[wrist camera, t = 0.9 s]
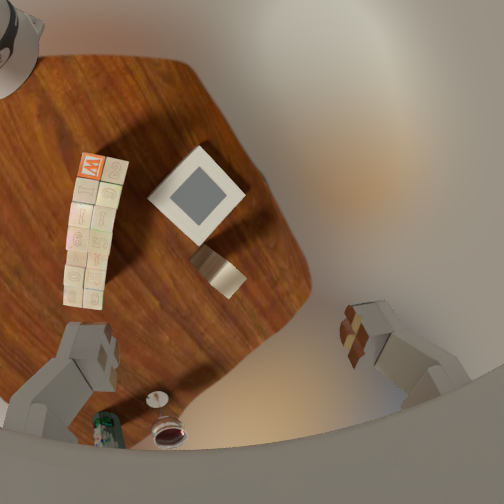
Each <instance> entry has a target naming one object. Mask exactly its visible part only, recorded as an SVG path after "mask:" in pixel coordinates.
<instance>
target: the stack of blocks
mask: <svg viewBox="0 0 504 504" xmlns="http://www.w3.org/2000/svg"><path fill="white" fill-rule="evenodd" d="M128 164H129V161H124V160H120V159H115V158H111V157H105V156H101V155H96V154H91V153H86V152H83V154H82V158H81V163H80V167H79V171H78V177H77V179H76V184H75V189H74V195H73V202H72V203H71V209H70V216H69V223H68V225H69V226H68V232H67V241H66V250H68V251H67V259H66V264H65V272H64V298H63V305H68V306H75V307H81V308H82V307H84V308H90V309H97V310H102V304H103V292H104V287H105V278H106V270H107V263H108V256H109V255H110V248H111V241H112V235H113V225H114V220H115V215H116V210H117V209H118V205H119V200H120V196H121V191H122V186H123V184H124V180H125V176H126V172H127V168H128Z"/></svg>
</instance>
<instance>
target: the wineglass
mask: <svg viewBox="0 0 504 504" xmlns="http://www.w3.org/2000/svg"><path fill="white" fill-rule="evenodd" d="M146 402H147V404H148V405H149V406H151V407H154V408H159V410H160V414H161V417H160V418H158V419H157V420H156V421H154V423H153V424H152V427H151V434H152V437H153V438H154V443H155V444H156V445H157V446H158V447H160V448H162V449H174V448H177V447H180V446H181V445H183V444H184V443H185V442H186V441H187V438H188V435H187V433H186V431H185V426H184V425H183V424H182V422H181V421H180V420H179V419H177V418H175V417H172V416H164V413H163V411H162V408H161V407H162V406H164V405H165V404H166V403H167V402H168V396H167V394H165V393H164V392H161V391H156V392H152V393H150V394H149V395H148V396H147V398H146Z"/></svg>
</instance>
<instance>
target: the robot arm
mask: <svg viewBox="0 0 504 504" xmlns="http://www.w3.org/2000/svg"><path fill="white" fill-rule="evenodd" d="M34 24H35V25H34ZM43 29H44V23H43V22H42V21H41V20H39V19H37V18H35V17H33V16H31V15H29V14H27V13H25V12H23V11H21V10H19V9H17V8H15V7H14V6H13V5H12V4H11V3H10V2H9V1H8V0H0V99H2V98H4V97H6V96H8V95H10V94H11V93H13V92H14V91H15V90H16V89H18V88H19V87H20V86H21V85H22V84H23V83H24V82H25V80H26V79H27V78H28V76H29V75H30V73H31V72H32V70H33V68H34V66H35V64H36V61H37V58H38V53H39V39H40V36H41V34H42V32H43ZM345 315H346V318H345V319H344V320H343V321H342V322H341V326H340V338H341V342H342V344H343V346H344V347H345V348H346V349H348V350H349V354H348V358H349V360H350V362H351V364H352V366H353V368H354V370H356V369H361V368H366V367H371V366H374V367H375V368H376V369H377V370H379V371H380V372H381V373H382V374H383V375H385V376H386V377H387V378H388V379H389V380H391V381H392V382H393V383H394V384H396V385H397V386H398V387H399V388H401V389H402V390H403V391H404V392H405V393H407V394H408V396H407V398H406V399H405V400H404V401H403V403H402V405H401V409H402V410H401V411H399V412H396V413H393V414H390V415H387V416H384V417H381V418H377V419H375V420H371V421H368V422H364V423H361V424H357V425H354V426H350V427H346V428H342V429H338V430H334V431H330V432H326V433H321V434H317V435H312V436H307V437H302V438H297V439H292V440H285V441H279V442H273V443H266V444H260V445H251V446H242V447H232V448H219V449H203V450H135V449H119V448H107V447H98V446H89V445H82V444H78V439H77V438H76V436H75V435H74V434H73V433H72V432H71V431H70V430H69V429H68V428H67V427H68V426H69V424H70V423H71V422H72V420H73V419H74V418H75V416H76V415H77V413H78V412H79V411H80V409H81V408H82V407H83V405H84V404H85V403H86V401H87V400H88V399H89V397H90V396H91V395H92V393H93V391H115V388H116V381H117V374H116V372H115V369H116V368H117V367H118V365H119V360H120V352H119V346H118V342H117V340H116V339H115V338H114V337H113V336H112V332H113V330H112V328H111V325H110V324H109V323H95V322H69V323H68V324H67V325H66V328H65V331H64V334H63V337H62V340H61V343H60V346H59V349H58V352H57V355H56V358H52V359H50V360H49V361H48V362H47V363H46V364H45V365H44V366H43V367H42V368H41V369H40V370H39V371H38V372H37V373H35V374H34V375H33V376H32V377H31V378H30V379H29V380H28V381H27V382H26V383H25V384H24V385H23V386H22V387H21V388H20V389H19V390H18V391H17V392H16V393H15V394H14V395H13V396H12V397H11V399H10V403H9V406H8V410H7V413H6V417H5V421H4V425H3V428H1V427H0V504H504V364H503V365H501V366H499V367H497V368H495V369H494V370H492V371H490V372H488V373H486V374H484V375H482V376H480V377H478V378H477V379H474V380H471V379H470V377H469V376H468V374H467V372H466V371H465V369H464V368H463V366H462V365H461V363H460V361H459V360H458V358H457V357H456V356H454V355H453V354H451V353H449V352H448V351H446V350H444V349H442V348H441V347H439V346H437V345H436V344H434V343H432V342H431V341H429V340H427V339H425V338H424V337H422V336H420V335H418V334H417V333H415V332H414V331H412V330H410V329H407V330H406V329H405V327H404V325H403V324H402V322H401V321H400V319H399V318H398V316H397V315H396V313H395V312H394V310H393V309H392V307H391V306H390V304H389V303H388V302H387V301H386V300H379V301H374V302H367V303H361V304H353V305H348V307H347V308H346V310H345Z"/></svg>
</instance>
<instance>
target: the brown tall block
mask: <svg viewBox="0 0 504 504" xmlns="http://www.w3.org/2000/svg"><path fill="white" fill-rule="evenodd" d="M189 261H190V262H191V263H192V264H193V265H194V266H195V268H196V269H197V270H198V271H199V272H200V273H201V274H202V275H203V276H204V277H205V278H206V279H207V280H208V282H209V283H210V284H211V285H212V286H213V287H215V288H216V289H217V290H218V291H219V292H221V293H222V294H223V295H224V296H226V297H227V298H228V299H229V298H230V297H231V296H232V295H233V294H234V293H235V291H236V290H237V289H238V288H239V287H240V286H241V285H242V283H243V282H244V281H245V280H246V279H247V278H246V277H245V276H244V275H243V274H242V273H240V272H239V271H238V270H237V269H236V268H235V267H234V266H233V265H232V264H231V263H230V262H228V261H227V260H225V259H224V258H222V257H221V256H220V255H219V254H217V253H216V252H215V251H213V250H212V249H211V248H209V247H208V246H207V245H205V244H204V243H203V244H202V245H201V247H200V248H199V249H198V250H197V251H196V252H195V253H194V254H193V256H192V257H191V258H190V259H189Z"/></svg>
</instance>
